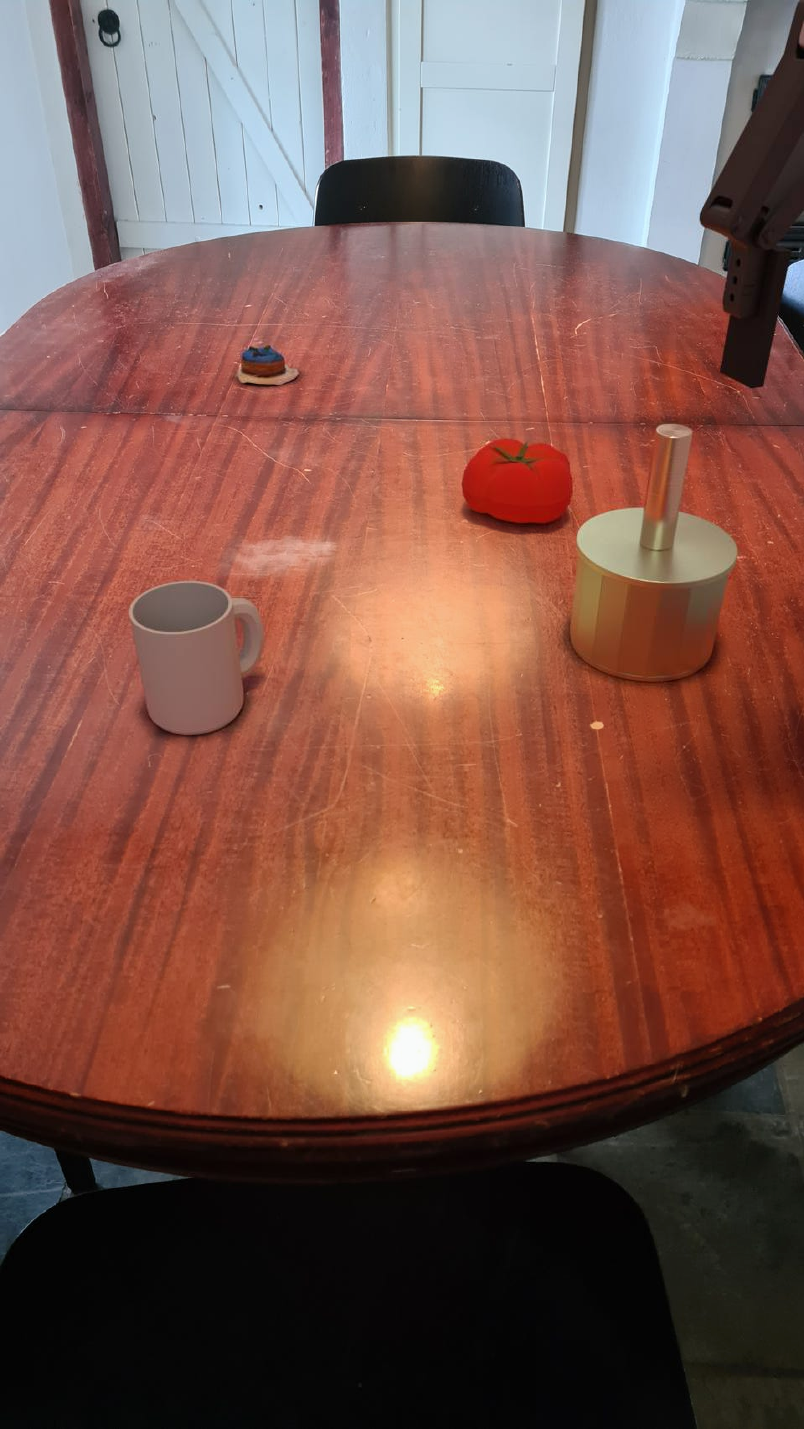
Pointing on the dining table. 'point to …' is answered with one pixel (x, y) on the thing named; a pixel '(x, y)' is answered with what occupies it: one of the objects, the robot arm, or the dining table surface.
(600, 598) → the round metal container
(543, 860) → the dining table surface
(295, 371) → the dessert
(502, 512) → the tomato
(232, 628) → the cup
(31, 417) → the dining table surface
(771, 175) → the robot arm
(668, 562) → the lid
